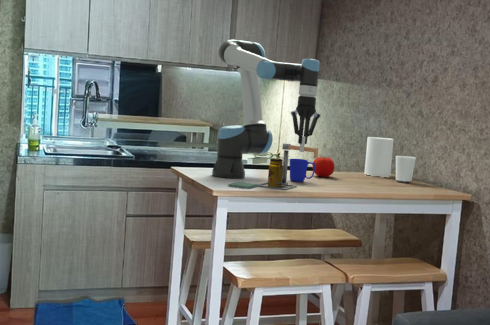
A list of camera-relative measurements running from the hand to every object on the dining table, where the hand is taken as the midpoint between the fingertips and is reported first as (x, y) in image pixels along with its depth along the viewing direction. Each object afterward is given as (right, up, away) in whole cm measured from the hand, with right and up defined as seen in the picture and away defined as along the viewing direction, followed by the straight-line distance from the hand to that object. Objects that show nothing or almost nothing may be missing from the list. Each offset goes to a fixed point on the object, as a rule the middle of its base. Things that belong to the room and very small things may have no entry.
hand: (301, 151), depth 284 cm
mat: (-25, -15, -6) cm, 29 cm away
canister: (+46, -12, +71) cm, 85 cm away
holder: (-11, -15, +1) cm, 18 cm away
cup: (+55, -15, +50) cm, 75 cm away
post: (-7, -14, +9) cm, 18 cm away
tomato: (+15, -12, +50) cm, 53 cm away
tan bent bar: (-1, -2, +3) cm, 4 cm away
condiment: (-11, -15, +1) cm, 19 cm away
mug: (+2, -14, +24) cm, 28 cm away
